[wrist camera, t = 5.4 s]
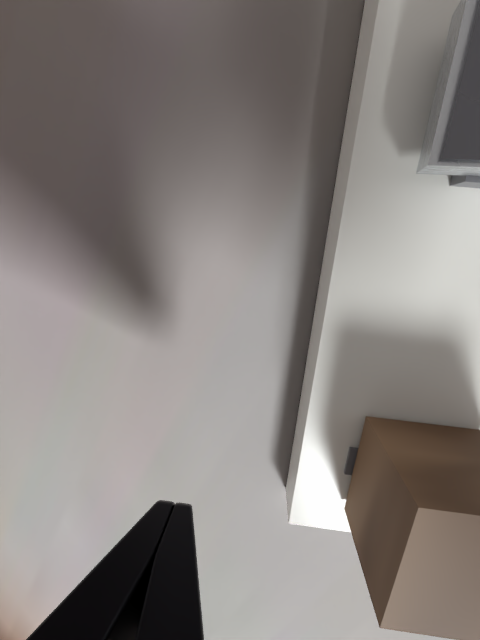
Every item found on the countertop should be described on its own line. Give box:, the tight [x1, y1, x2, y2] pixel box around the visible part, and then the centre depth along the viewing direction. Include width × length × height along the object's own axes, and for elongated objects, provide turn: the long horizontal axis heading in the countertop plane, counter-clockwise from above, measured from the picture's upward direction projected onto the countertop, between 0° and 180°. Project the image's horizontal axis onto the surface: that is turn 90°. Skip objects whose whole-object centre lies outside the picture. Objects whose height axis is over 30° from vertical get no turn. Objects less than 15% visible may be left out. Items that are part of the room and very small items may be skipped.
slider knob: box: [344, 416, 480, 640], centre depth 8 cm, size 4×4×3 cm
